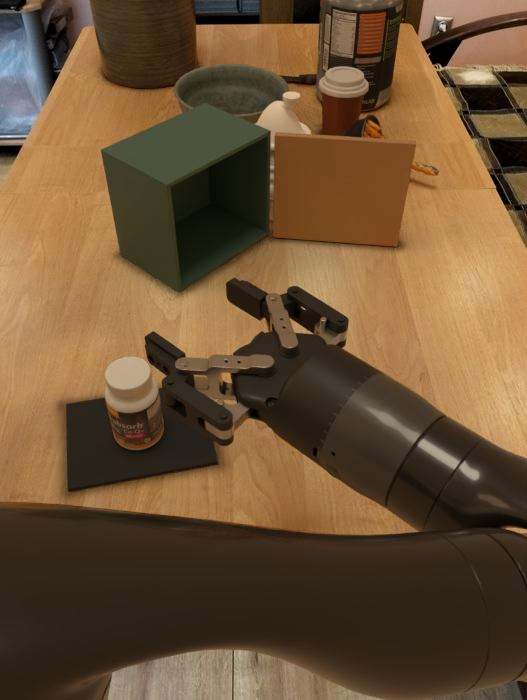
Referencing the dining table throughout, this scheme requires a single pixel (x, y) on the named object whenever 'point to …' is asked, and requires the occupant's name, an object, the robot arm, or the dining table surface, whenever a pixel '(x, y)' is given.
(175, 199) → the cupboard
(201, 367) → the robot arm
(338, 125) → the coffee cup
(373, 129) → the fried food
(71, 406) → the mat
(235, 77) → the bowl
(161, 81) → the planter
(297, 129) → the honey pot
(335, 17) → the supplement tub
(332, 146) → the cupboard door
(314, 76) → the knife
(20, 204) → the dining table surface
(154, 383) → the pill bottle
